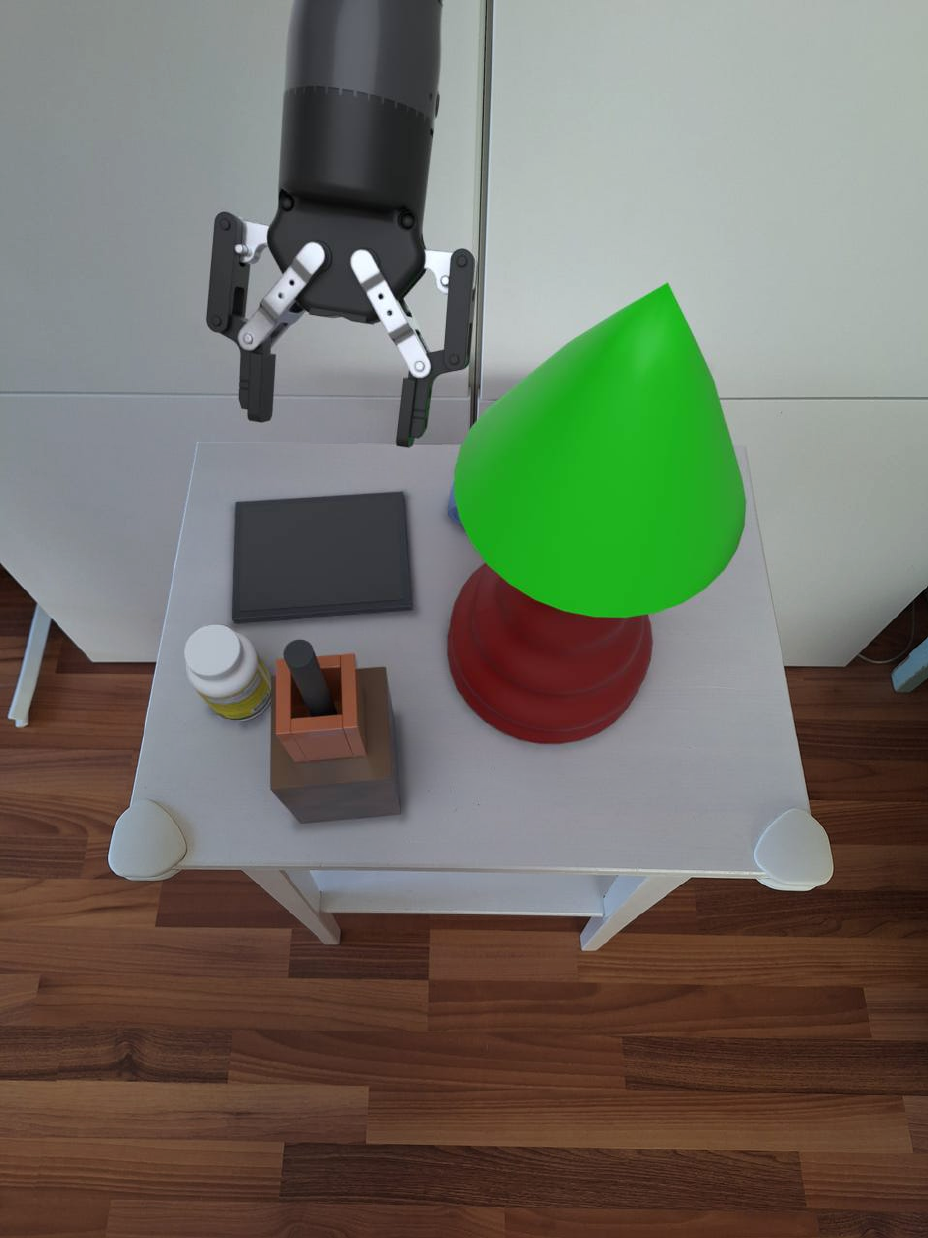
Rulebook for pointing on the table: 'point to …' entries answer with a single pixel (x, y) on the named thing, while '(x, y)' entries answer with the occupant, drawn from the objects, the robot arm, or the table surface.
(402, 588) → the tablet
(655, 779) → the table surface
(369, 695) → the stand
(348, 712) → the pen cup
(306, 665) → the stylus
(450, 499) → the decorative dice
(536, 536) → the table lamp
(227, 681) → the pill bottle
